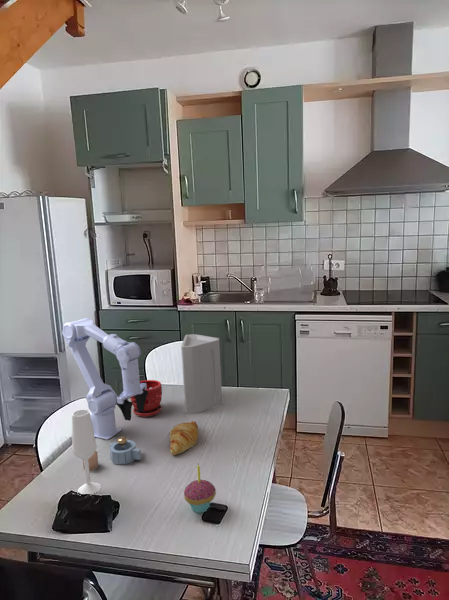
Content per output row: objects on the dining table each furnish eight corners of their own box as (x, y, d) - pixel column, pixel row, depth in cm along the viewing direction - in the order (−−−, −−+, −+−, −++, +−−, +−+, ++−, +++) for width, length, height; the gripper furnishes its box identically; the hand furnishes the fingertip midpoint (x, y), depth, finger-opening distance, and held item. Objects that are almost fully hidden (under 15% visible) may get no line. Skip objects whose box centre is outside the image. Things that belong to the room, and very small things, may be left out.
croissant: (181, 468, 145) (191, 450, 142) (155, 453, 146) (164, 434, 144) (201, 436, 165) (209, 419, 162) (178, 423, 166) (186, 406, 164)
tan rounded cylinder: (80, 469, 140) (79, 456, 139) (89, 461, 145) (87, 449, 144) (93, 471, 139) (91, 458, 138) (101, 463, 143) (100, 451, 142)
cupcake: (185, 499, 123) (182, 459, 120) (215, 496, 123) (213, 456, 121) (185, 519, 114) (182, 477, 112) (217, 516, 115) (215, 474, 113)
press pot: (104, 461, 144) (103, 449, 144) (120, 449, 152) (119, 438, 151) (133, 467, 140) (131, 455, 139) (147, 455, 147) (146, 443, 146)
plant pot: (169, 409, 183) (167, 381, 181) (148, 421, 172) (146, 392, 170) (146, 403, 190) (144, 376, 188) (124, 415, 179) (121, 387, 177)
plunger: (113, 458, 145) (112, 440, 144) (122, 451, 149) (120, 434, 148) (125, 460, 143) (123, 443, 142) (133, 453, 147) (132, 436, 146)
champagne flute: (88, 498, 125) (79, 419, 121) (72, 491, 128) (63, 415, 124) (105, 486, 131) (97, 410, 126) (90, 480, 134) (82, 406, 130)
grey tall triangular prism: (222, 412, 177) (218, 345, 172) (185, 414, 177) (180, 347, 172) (222, 394, 196) (219, 333, 191) (189, 395, 196) (185, 334, 191)
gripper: (127, 387, 143) (131, 425, 146) (152, 372, 156) (155, 408, 159) (110, 384, 146) (114, 422, 149) (136, 370, 159) (139, 405, 162)
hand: (134, 415), depth 154 cm, fingers open, 7 cm apart
